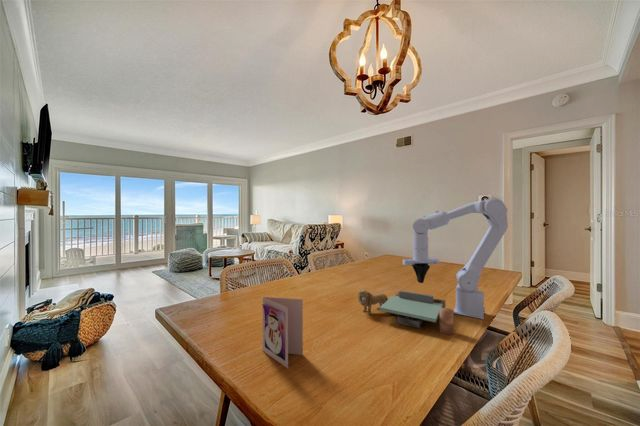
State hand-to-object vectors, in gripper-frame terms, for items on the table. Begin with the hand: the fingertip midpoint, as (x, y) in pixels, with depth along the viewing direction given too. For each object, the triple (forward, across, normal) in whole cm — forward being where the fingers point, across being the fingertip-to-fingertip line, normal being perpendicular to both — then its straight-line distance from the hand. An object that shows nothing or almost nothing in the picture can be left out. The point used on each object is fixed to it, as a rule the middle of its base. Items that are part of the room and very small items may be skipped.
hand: (420, 282), depth 104 cm
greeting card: (+10, -55, -27) cm, 62 cm away
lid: (+6, -10, -11) cm, 16 cm away
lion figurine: (+10, -20, -2) cm, 23 cm away
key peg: (+10, -3, -21) cm, 24 cm away
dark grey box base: (+10, -6, -7) cm, 14 cm away
